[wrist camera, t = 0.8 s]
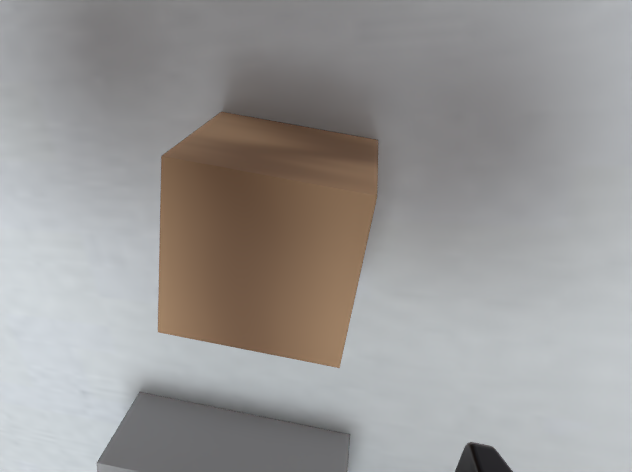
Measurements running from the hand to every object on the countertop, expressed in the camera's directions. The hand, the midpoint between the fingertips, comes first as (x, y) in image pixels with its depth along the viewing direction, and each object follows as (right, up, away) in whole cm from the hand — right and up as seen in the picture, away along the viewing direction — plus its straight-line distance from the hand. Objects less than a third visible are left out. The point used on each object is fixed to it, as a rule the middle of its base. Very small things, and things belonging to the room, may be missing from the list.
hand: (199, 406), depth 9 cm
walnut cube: (+1, +4, +9) cm, 10 cm away
